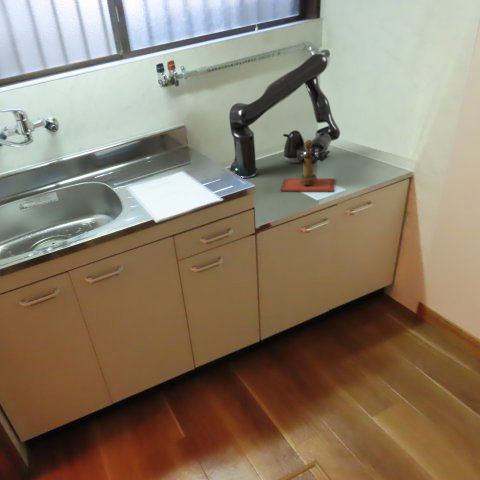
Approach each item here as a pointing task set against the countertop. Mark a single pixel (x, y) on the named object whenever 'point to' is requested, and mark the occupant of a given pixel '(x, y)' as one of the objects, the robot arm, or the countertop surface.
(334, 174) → the countertop surface
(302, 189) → the tray
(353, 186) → the countertop surface
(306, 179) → the mortar and pestle
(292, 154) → the pump dispenser
